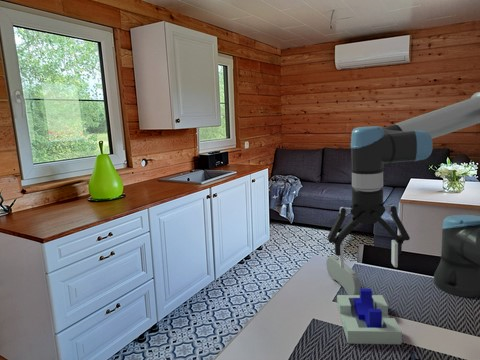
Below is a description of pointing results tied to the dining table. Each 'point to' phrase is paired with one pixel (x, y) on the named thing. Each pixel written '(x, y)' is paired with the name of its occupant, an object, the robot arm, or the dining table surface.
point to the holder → (358, 328)
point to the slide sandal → (343, 276)
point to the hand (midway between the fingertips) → (367, 265)
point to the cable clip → (368, 309)
